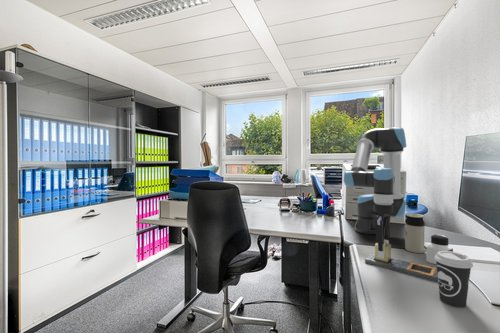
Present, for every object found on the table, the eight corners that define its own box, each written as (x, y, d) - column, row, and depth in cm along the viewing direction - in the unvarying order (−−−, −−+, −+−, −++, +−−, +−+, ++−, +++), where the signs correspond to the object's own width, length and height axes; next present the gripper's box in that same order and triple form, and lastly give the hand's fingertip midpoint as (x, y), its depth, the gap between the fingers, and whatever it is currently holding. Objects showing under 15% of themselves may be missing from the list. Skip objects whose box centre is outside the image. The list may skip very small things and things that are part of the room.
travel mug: (425, 250, 123) (425, 214, 123) (422, 254, 117) (423, 217, 117) (407, 246, 129) (407, 212, 128) (403, 250, 123) (403, 215, 122)
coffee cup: (476, 314, 72) (476, 263, 72) (435, 304, 77) (435, 257, 77) (468, 298, 80) (469, 253, 80) (432, 290, 85) (432, 248, 85)
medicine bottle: (444, 267, 103) (444, 239, 103) (426, 261, 110) (426, 234, 109) (453, 264, 107) (453, 236, 106) (434, 258, 113) (434, 232, 113)
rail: (371, 256, 116) (371, 252, 116) (441, 273, 98) (441, 269, 98) (365, 262, 109) (365, 258, 109) (438, 282, 91) (438, 277, 91)
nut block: (378, 260, 112) (378, 241, 112) (390, 263, 108) (391, 244, 108) (375, 263, 108) (375, 244, 108) (387, 266, 105) (387, 247, 105)
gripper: (380, 200, 117) (380, 248, 117) (367, 205, 104) (367, 259, 104) (398, 201, 112) (398, 252, 112) (386, 207, 99) (386, 264, 99)
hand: (383, 255), depth 108 cm, fingers closed on nut block, 5 cm apart
